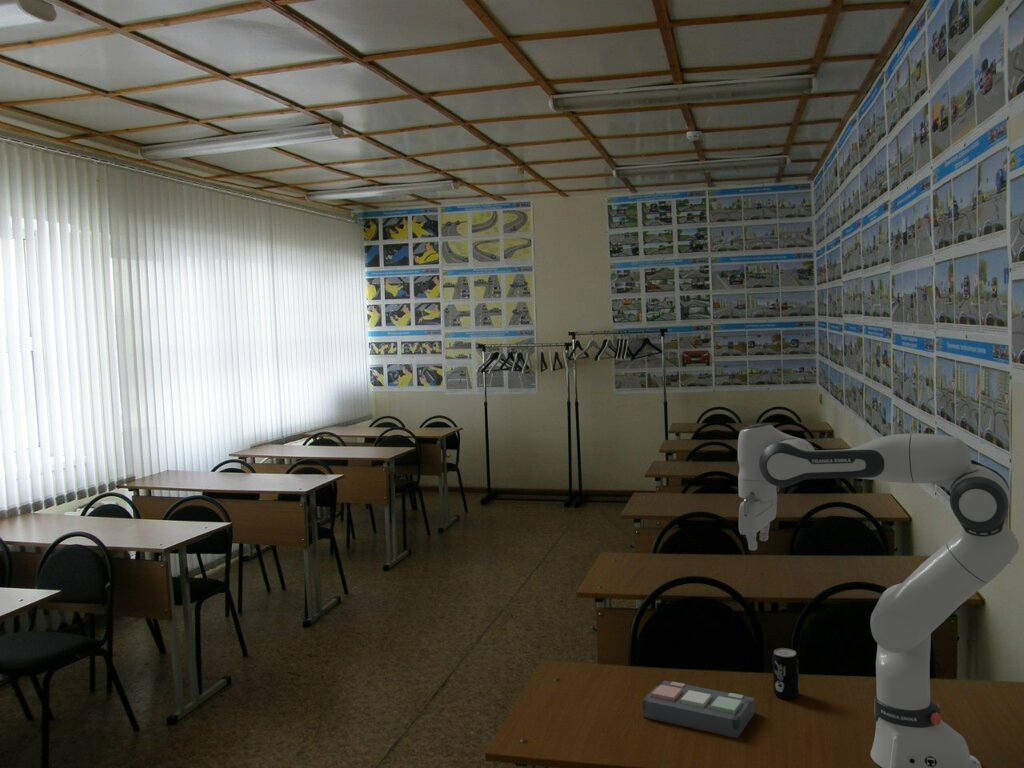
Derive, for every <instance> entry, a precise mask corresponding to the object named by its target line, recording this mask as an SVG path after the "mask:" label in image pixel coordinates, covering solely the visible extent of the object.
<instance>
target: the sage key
mask: <svg viewBox="0 0 1024 768" xmlns="http://www.w3.org/2000/svg"><path fill="white" fill-rule="evenodd" d="M741 707H742V700H737V699H732V698H727V697H721V696H718V697H717V699H716V700H715V701H714V702H713V703H712V705H711V710H714V711H719V712H723V713H728V714H733V715H736V714H737V712H738V711H739V710H740V708H741Z"/></svg>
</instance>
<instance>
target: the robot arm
mask: <svg viewBox="0 0 1024 768" xmlns="http://www.w3.org/2000/svg"><path fill="white" fill-rule="evenodd" d="M737 462H738V466H739V469H738V475H737V477H738V478H737V479H738V482H737V484H738V497H740V499H741V498H742V499H743V501H742V502H741V503H740V504H739V509H738V531H739V534H740V535H743V536H744V535H745V538H746V540H747V545H748V550H749V551H753V552H754V551H756V550H757V549H758V541H757V534H758V532H759V541H761V542H766V541H768V540H769V533H770V532H769V530H770V526H771V525H770V524H771V522H772V521H773V520H775V519H776V516H777V509H778V494H777V493H779V491H780V488H787V487H791V486H794V485H796V484H798V483H801V482H803V481H805V480H814V479H862V480H863V479H864V480H871V481H872V480H873V481H881V482H882V481H883V482H888V483H898V484H899V483H900V484H901V483H902V484H932V485H938V486H941V487H942V488H945V489H946V490H947V491H949V494H950V495H949V505H950V508H951V511H952V513H953V515H954V516H955V518H956V519H957V521H958V522H959V525H961V529H960V530H959V532H958V533H956V535H954V536H953V537H952V538H951V539H949V540H948V541H947V542H946V543H944V545H943V546H941V547H939V549H938V550H936V551H934V553H933V554H932V555H930V556H929V557H928V558H927V559H926V560H924V561H923V562H922V563H921V564H920V565H919V566H917V568H916V569H915V570H914V571H913V572H912V573H910V575H908V577H907V578H906V579H905V580H904V581H902V582H901V583H898V584H894V585H892V586H889V587H888V588H886V590H884V591H883V592H882V594H881V596H880V597H879V599H878V601H877V603H876V605H875V607H874V609H873V611H872V612H871V614H870V615H871V616H870V630H871V634H872V638H873V639H874V641H875V642H876V643H877V647H876V648H877V649H876V650H877V651H876V657H875V658H876V659H875V675H876V676H875V678H876V679H875V680H876V681H875V683H876V694H875V696H874V701H873V705H874V707H873V709H874V718H875V722H876V723H875V731H874V732H875V733H874V737H873V738H874V739H873V743H872V746H871V747H872V748H871V750H870V757H871V759H872V761H873V762H874V763H875V764H876V765H878V766H879V767H881V768H982V764H981V763H980V760H979V759H977V757H975V756H974V755H971V754H970V749H969V745H968V743H967V741H966V739H965V738H964V737H963V735H961V734H960V733H959V732H957V731H956V730H955V729H954V728H952V727H951V726H950V725H948V724H947V723H946V722H944V721H943V720H942V715H941V713H942V711H941V705H940V703H939V702H937V704H935V703H934V702H933V701H931V684H930V683H931V681H930V679H931V678H930V677H931V676H930V674H931V673H930V669H931V668H930V666H931V665H930V663H931V643H932V642H931V640H932V637H931V636H932V633H933V632H934V631H935V630H937V628H939V626H941V624H943V623H944V622H945V621H946V620H947V619H948V618H949V617H950V616H951V615H952V614H953V613H954V612H955V611H956V610H957V609H958V608H959V607H960V606H961V605H963V604H964V603H965V602H966V601H968V599H970V598H971V597H972V596H973V595H976V593H977V592H979V591H980V590H981V589H982V588H983V587H985V586H986V585H987V584H989V583H990V582H991V581H992V580H993V579H994V578H996V577H997V576H998V575H999V574H1000V573H1001V572H1002V571H1003V570H1004V569H1005V568H1006V567H1007V566H1008V564H1010V563H1011V561H1012V560H1013V559H1014V557H1015V556H1016V555H1017V553H1018V552H1019V547H1020V544H1019V540H1018V538H1017V537H1016V535H1015V533H1014V532H1013V530H1011V528H1009V527H1008V526H1007V525H1006V523H1005V521H1006V518H1007V515H1008V513H1009V508H1010V504H1011V492H1010V485H1009V484H1008V482H1007V480H1006V479H1005V477H1004V476H1003V475H1002V474H1001V473H1000V472H998V471H996V470H994V469H992V468H991V467H988V466H986V465H985V464H983V463H980V462H978V461H976V460H974V459H971V452H970V450H969V448H968V446H967V444H966V442H965V441H963V439H960V438H959V437H955V436H951V435H945V434H944V435H942V434H935V433H934V434H933V433H921V432H920V433H917V432H916V433H896V434H890V435H885V436H880V437H877V438H875V439H873V440H870V441H869V442H866V443H864V444H861V445H858V446H855V447H851V448H845V449H826V450H824V449H823V450H822V449H820V450H818V449H817V450H816V449H815V447H814V446H813V444H812V443H811V442H810V441H809V440H806V439H804V438H800V437H796V436H793V435H790V434H788V433H785V432H782V431H780V430H779V429H777V428H776V427H774V426H773V425H772V424H771V423H768V422H767V423H766V422H765V423H764V422H763V423H756V424H755V423H754V424H751V425H748V426H745V427H743V428H741V430H740V431H739V434H738V439H737Z"/></svg>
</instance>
